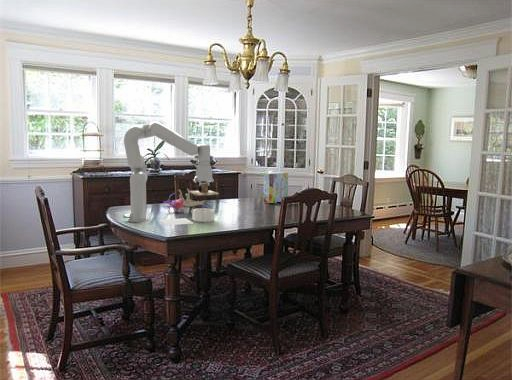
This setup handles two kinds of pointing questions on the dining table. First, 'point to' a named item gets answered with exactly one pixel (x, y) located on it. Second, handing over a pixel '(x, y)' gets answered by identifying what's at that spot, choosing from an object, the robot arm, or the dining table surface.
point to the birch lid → (204, 190)
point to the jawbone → (189, 202)
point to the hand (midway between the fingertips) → (203, 191)
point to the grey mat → (176, 221)
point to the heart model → (175, 204)
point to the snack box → (275, 186)
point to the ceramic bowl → (203, 215)
